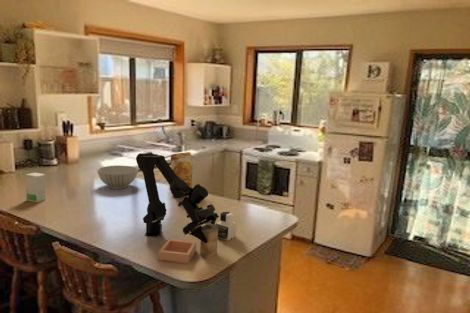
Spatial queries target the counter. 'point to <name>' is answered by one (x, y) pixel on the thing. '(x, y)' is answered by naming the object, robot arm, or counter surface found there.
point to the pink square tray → (177, 251)
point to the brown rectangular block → (209, 240)
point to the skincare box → (35, 187)
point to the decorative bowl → (117, 175)
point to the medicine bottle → (226, 226)
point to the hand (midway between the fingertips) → (211, 240)
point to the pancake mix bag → (183, 167)
